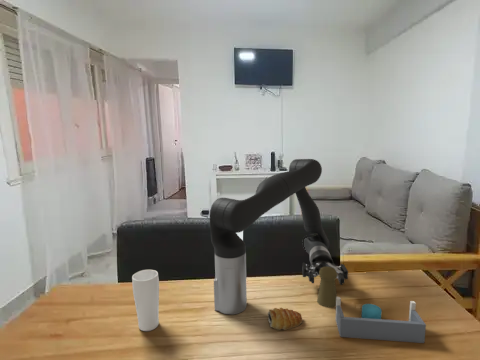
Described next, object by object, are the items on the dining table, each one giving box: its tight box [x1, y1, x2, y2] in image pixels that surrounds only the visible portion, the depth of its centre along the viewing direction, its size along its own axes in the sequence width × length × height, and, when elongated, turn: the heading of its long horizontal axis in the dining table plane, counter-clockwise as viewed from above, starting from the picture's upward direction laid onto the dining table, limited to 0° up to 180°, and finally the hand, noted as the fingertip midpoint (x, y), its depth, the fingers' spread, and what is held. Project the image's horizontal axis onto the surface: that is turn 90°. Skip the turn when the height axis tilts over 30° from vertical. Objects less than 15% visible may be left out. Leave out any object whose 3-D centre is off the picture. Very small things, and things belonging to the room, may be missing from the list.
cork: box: [316, 267, 338, 309], centre depth 92 cm, size 6×6×11 cm
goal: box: [335, 296, 427, 344], centre depth 78 cm, size 20×7×7 cm, turn 82°
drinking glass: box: [131, 269, 160, 332], centre depth 81 cm, size 7×7×15 cm
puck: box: [361, 303, 383, 319], centre depth 84 cm, size 5×5×3 cm
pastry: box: [267, 307, 303, 331], centre depth 83 cm, size 9×7×4 cm
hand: (327, 281), depth 92 cm, fingers open, 8 cm apart
